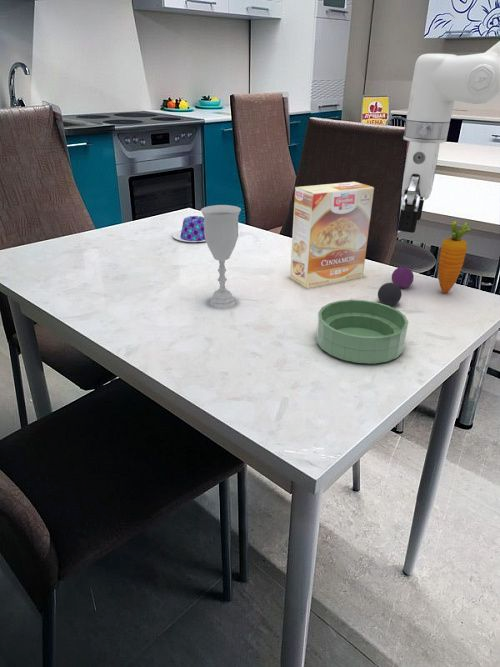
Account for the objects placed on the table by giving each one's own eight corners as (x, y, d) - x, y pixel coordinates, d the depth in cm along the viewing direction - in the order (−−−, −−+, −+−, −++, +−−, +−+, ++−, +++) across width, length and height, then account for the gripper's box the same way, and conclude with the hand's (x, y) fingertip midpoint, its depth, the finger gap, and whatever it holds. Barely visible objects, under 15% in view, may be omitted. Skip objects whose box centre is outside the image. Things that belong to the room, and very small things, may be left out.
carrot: (451, 289, 105) (467, 217, 98) (461, 298, 100) (478, 224, 93) (428, 289, 105) (441, 217, 98) (436, 298, 100) (451, 224, 93)
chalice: (224, 293, 101) (223, 203, 93) (248, 303, 97) (249, 209, 89) (196, 303, 97) (192, 209, 89) (220, 314, 93) (218, 216, 84)
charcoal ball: (387, 298, 100) (390, 277, 98) (404, 306, 97) (408, 285, 95) (371, 303, 98) (374, 282, 96) (388, 311, 95) (391, 289, 93)
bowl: (360, 319, 91) (363, 293, 89) (421, 351, 81) (427, 323, 79) (299, 337, 85) (300, 311, 82) (357, 376, 74) (360, 346, 72)
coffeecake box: (306, 289, 104) (313, 193, 95) (288, 278, 109) (293, 186, 100) (364, 278, 110) (375, 186, 101) (344, 267, 115) (353, 180, 106)
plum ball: (400, 281, 108) (403, 262, 106) (416, 288, 105) (419, 268, 103) (385, 285, 106) (388, 266, 104) (401, 292, 103) (404, 272, 101)
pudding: (181, 230, 141) (180, 211, 139) (222, 233, 139) (222, 214, 137) (166, 242, 131) (165, 222, 128) (211, 246, 129) (210, 225, 126)
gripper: (444, 138, 83) (424, 239, 91) (450, 129, 97) (432, 217, 105) (398, 135, 85) (382, 234, 93) (410, 126, 99) (396, 212, 107)
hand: (409, 225), depth 99 cm, fingers open, 9 cm apart
